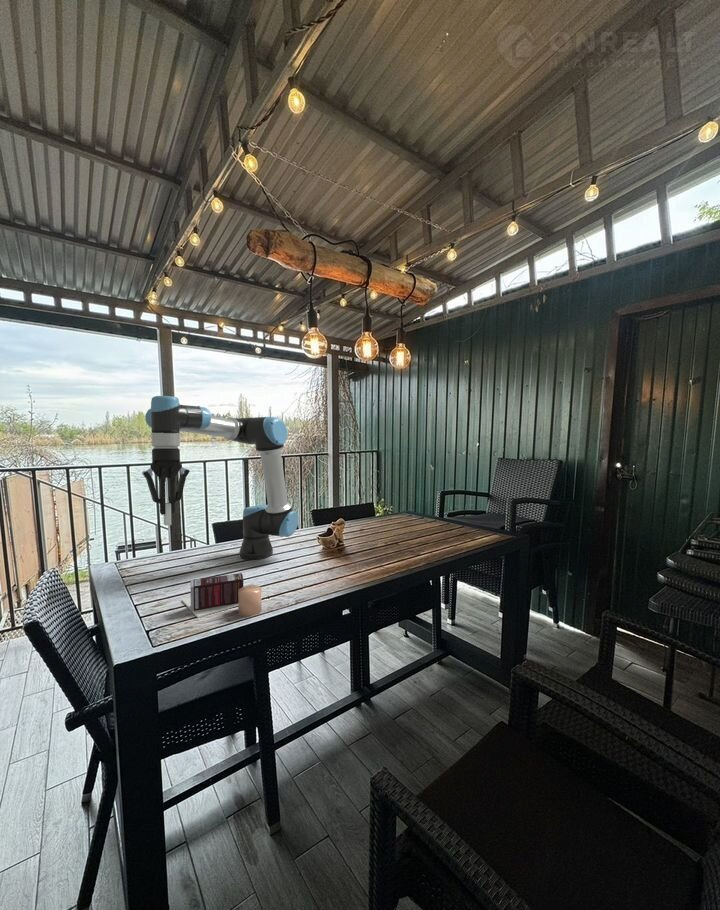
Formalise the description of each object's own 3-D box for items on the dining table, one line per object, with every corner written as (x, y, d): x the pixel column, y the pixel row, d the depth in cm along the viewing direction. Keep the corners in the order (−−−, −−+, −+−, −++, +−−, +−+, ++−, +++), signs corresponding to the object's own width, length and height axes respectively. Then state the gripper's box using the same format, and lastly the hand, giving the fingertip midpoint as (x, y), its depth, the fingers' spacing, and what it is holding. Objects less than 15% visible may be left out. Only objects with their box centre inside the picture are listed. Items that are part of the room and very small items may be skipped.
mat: (231, 587, 135) (231, 586, 135) (250, 601, 123) (250, 600, 123) (181, 600, 124) (181, 599, 124) (197, 618, 112) (197, 616, 112)
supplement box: (190, 603, 119) (241, 595, 126) (190, 611, 115) (243, 603, 122) (190, 578, 118) (242, 572, 124) (190, 586, 114) (244, 579, 120)
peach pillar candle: (255, 604, 122) (255, 583, 121) (265, 611, 117) (265, 590, 116) (234, 610, 117) (234, 589, 117) (244, 618, 112) (244, 596, 112)
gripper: (184, 447, 119) (186, 519, 120) (138, 447, 110) (140, 525, 111) (192, 447, 113) (193, 523, 114) (144, 448, 105) (146, 530, 106)
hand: (167, 524), depth 113 cm, fingers closed
